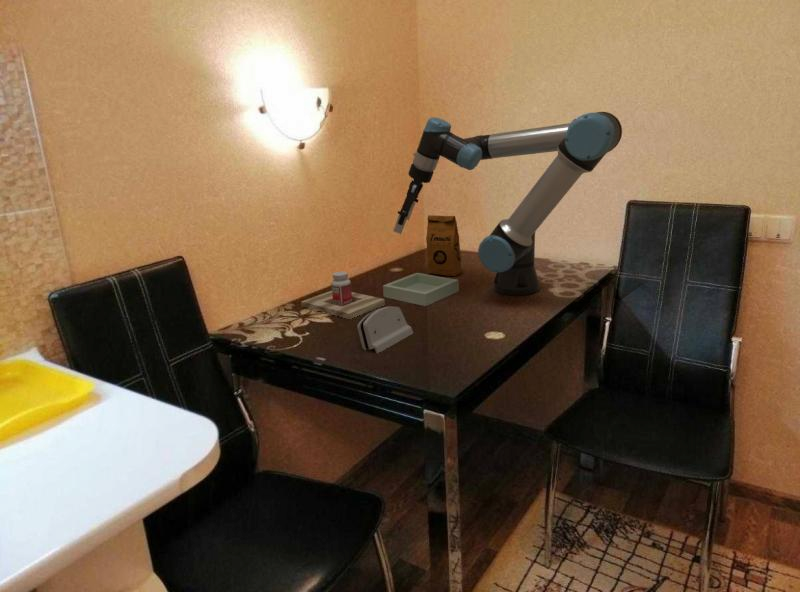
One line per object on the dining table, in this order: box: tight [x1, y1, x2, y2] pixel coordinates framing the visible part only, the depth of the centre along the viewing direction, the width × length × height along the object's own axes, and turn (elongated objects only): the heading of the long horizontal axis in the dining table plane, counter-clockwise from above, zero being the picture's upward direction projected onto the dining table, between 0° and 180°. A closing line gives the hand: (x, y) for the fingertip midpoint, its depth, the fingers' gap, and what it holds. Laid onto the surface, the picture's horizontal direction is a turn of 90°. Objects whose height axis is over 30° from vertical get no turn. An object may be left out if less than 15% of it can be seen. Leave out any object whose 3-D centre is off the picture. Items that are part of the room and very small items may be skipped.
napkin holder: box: [356, 306, 414, 354], centre depth 160 cm, size 17×5×10 cm, turn 143°
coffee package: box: [425, 214, 462, 277], centre depth 217 cm, size 10×12×22 cm
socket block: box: [301, 290, 386, 320], centre depth 190 cm, size 22×16×2 cm
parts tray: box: [382, 272, 460, 307], centre depth 198 cm, size 18×18×4 cm
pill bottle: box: [330, 271, 353, 307], centre depth 189 cm, size 6×6×11 cm
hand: (401, 225), depth 197 cm, fingers open, 13 cm apart
